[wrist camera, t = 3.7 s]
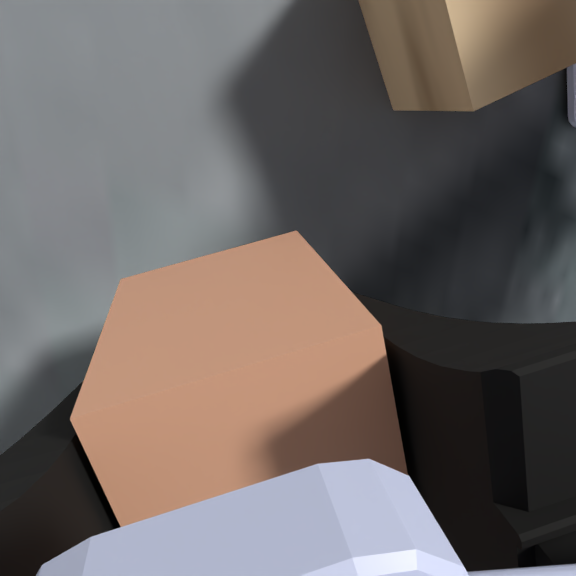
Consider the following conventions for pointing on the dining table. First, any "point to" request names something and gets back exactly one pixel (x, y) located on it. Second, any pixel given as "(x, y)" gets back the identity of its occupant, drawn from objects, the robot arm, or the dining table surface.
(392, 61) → the oak cube
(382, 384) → the terracotta block
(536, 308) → the dining table surface
